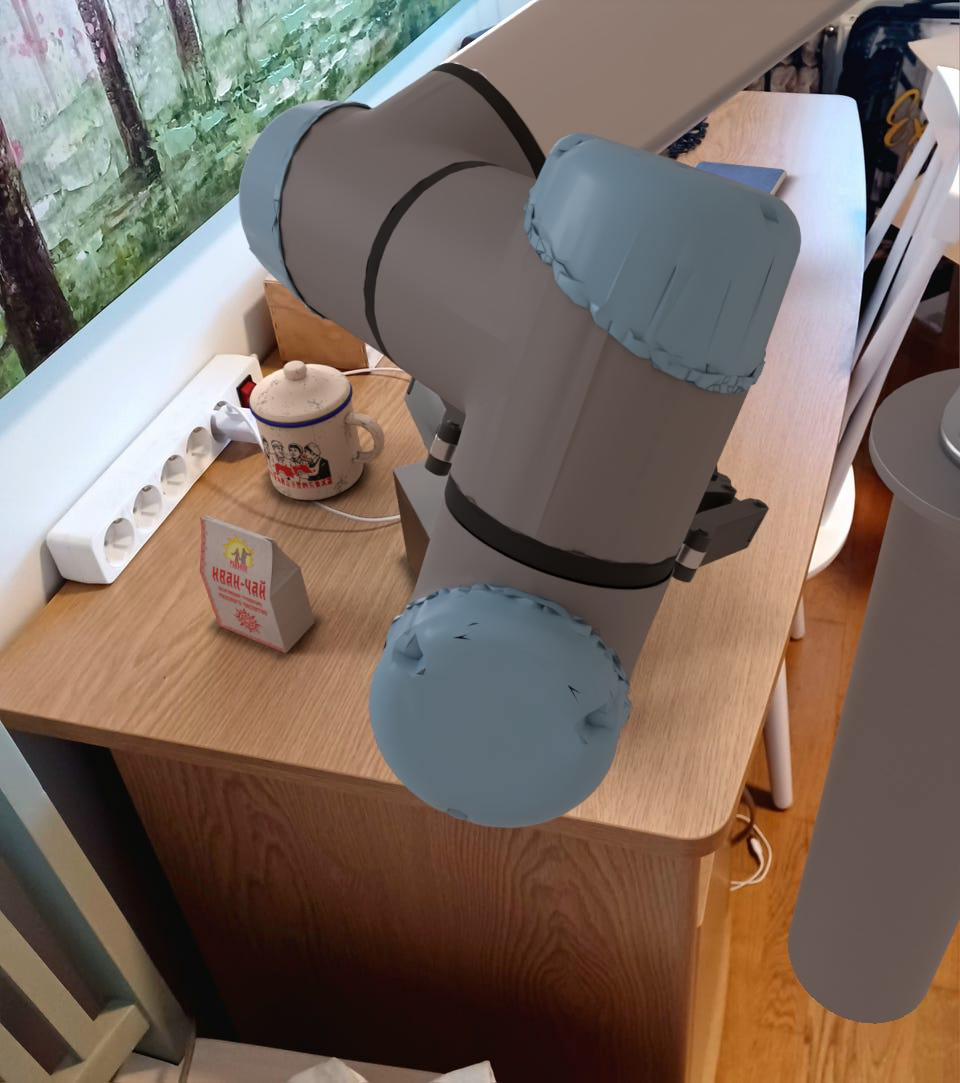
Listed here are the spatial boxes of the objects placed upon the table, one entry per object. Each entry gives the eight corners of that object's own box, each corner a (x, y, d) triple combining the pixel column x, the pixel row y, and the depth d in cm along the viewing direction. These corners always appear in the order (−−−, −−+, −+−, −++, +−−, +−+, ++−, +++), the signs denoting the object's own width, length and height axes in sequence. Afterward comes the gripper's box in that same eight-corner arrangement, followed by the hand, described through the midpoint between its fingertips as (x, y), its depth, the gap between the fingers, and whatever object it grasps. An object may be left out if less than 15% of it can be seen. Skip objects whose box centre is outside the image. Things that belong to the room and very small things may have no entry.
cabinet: (605, 624, 78) (605, 529, 72) (462, 672, 75) (450, 577, 69) (535, 521, 88) (530, 429, 81) (407, 560, 85) (391, 468, 79)
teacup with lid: (251, 495, 94) (220, 386, 86) (298, 438, 100) (273, 333, 92) (370, 516, 90) (348, 405, 82) (410, 456, 96) (394, 348, 89)
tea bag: (248, 596, 83) (218, 501, 77) (314, 622, 80) (289, 525, 74) (218, 626, 81) (185, 530, 74) (285, 653, 78) (257, 556, 72)
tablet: (749, 238, 125) (750, 228, 124) (650, 225, 130) (650, 215, 129) (788, 178, 138) (789, 168, 137) (697, 168, 142) (697, 159, 142)
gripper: (256, 499, 44) (389, 390, 64) (786, 733, 44) (757, 550, 63) (306, 340, 41) (429, 276, 61) (876, 589, 41) (817, 443, 60)
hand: (596, 415), depth 62 cm, fingers open, 13 cm apart
